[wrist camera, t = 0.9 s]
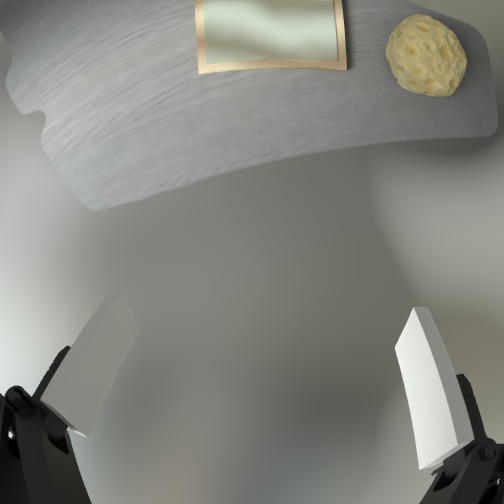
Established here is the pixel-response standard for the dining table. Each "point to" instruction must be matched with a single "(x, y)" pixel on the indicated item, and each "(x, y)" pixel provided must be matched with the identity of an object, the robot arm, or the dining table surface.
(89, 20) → the dining table surface
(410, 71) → the decorative item
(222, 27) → the board
